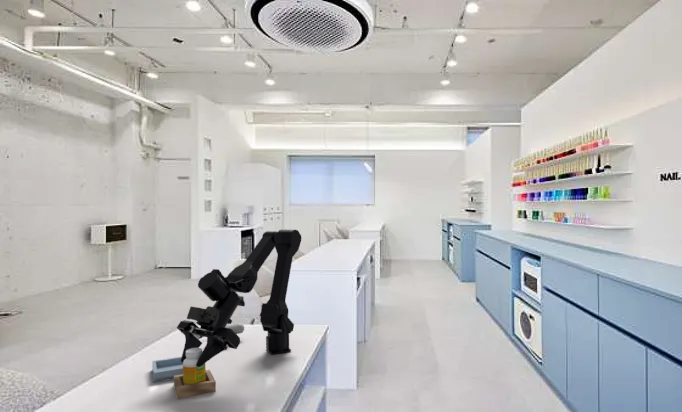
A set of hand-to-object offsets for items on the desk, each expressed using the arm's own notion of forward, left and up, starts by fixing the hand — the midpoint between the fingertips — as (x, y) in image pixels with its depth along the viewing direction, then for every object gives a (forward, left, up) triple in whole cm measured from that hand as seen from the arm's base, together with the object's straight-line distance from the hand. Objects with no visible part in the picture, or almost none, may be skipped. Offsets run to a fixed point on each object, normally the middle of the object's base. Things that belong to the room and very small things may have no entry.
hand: (189, 364), depth 106 cm
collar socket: (-1, -1, -7) cm, 7 cm away
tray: (+2, -15, -7) cm, 16 cm away
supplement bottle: (-1, -1, -7) cm, 7 cm away
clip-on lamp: (-14, -40, -7) cm, 43 cm away
